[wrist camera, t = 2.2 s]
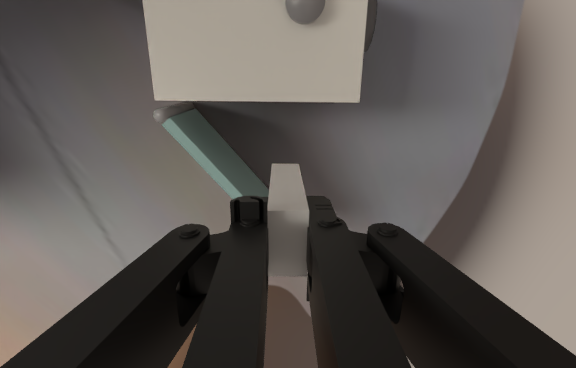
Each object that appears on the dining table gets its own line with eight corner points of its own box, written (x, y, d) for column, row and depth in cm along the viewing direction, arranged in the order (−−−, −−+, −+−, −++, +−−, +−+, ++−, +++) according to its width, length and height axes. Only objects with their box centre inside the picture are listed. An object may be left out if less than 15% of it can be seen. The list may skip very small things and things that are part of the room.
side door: (174, 112, 29) (141, 123, 22) (189, 99, 29) (160, 105, 22) (261, 206, 32) (256, 241, 25) (275, 195, 32) (274, 227, 25)
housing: (188, 96, 29) (150, 103, 20) (179, -17, 26) (128, -66, 17) (347, 98, 30) (376, 105, 21) (355, -12, 27) (393, -58, 18)
